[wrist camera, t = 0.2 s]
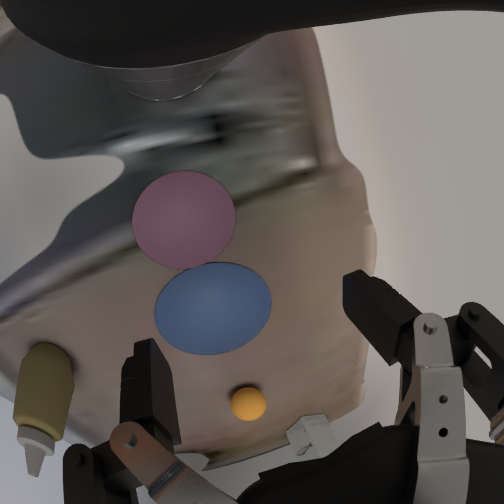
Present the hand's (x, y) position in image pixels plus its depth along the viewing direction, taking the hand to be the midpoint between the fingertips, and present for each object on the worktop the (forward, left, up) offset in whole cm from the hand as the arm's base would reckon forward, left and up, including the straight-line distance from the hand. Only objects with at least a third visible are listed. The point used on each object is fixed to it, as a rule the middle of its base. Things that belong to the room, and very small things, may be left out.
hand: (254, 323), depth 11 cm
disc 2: (+14, -2, -17) cm, 22 cm away
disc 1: (+2, -2, -17) cm, 18 cm away
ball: (+32, -2, -15) cm, 35 cm away
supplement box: (+56, +8, -18) cm, 59 cm away
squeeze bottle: (+14, -26, -18) cm, 35 cm away
